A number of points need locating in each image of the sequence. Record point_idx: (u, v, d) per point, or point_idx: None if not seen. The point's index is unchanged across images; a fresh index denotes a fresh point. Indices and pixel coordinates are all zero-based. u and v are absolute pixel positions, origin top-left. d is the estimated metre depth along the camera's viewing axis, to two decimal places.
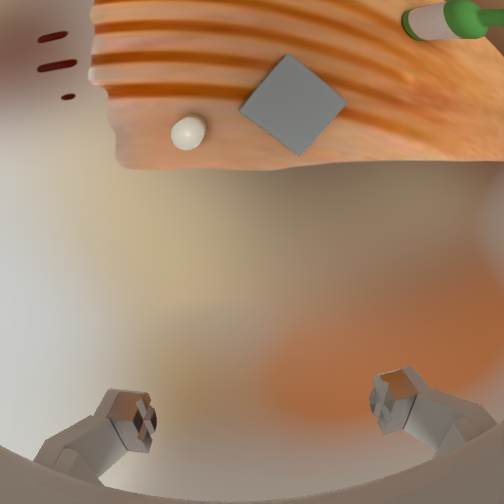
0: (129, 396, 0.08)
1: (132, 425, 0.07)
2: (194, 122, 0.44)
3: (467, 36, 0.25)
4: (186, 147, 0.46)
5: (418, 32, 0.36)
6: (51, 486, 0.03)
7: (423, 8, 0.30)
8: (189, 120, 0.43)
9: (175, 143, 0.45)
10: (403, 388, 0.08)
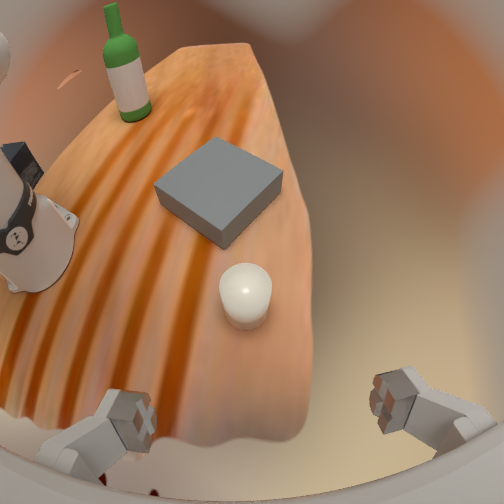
0: (129, 396, 0.08)
1: (132, 425, 0.07)
2: (226, 273, 0.31)
3: (135, 48, 0.44)
4: (268, 288, 0.30)
5: (140, 101, 0.54)
6: (51, 486, 0.03)
7: (116, 94, 0.51)
8: (222, 280, 0.30)
9: (259, 305, 0.29)
10: (403, 388, 0.08)
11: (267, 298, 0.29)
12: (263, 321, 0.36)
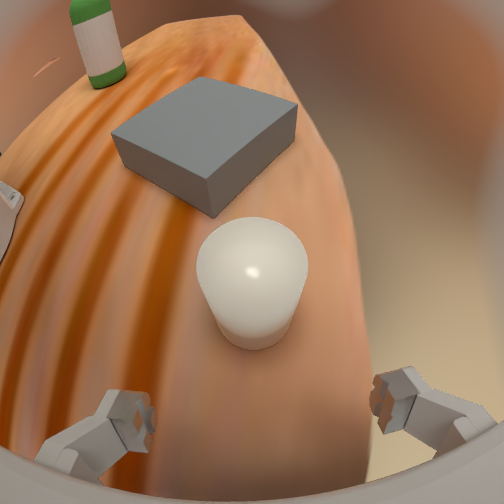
0: (129, 396, 0.08)
1: (132, 425, 0.07)
2: (211, 238, 0.15)
3: (106, 0, 0.29)
4: (299, 263, 0.14)
5: (112, 61, 0.39)
6: (51, 486, 0.03)
7: (84, 55, 0.36)
8: (202, 252, 0.14)
9: (285, 300, 0.13)
10: (403, 388, 0.08)
11: (300, 284, 0.13)
12: (285, 332, 0.20)
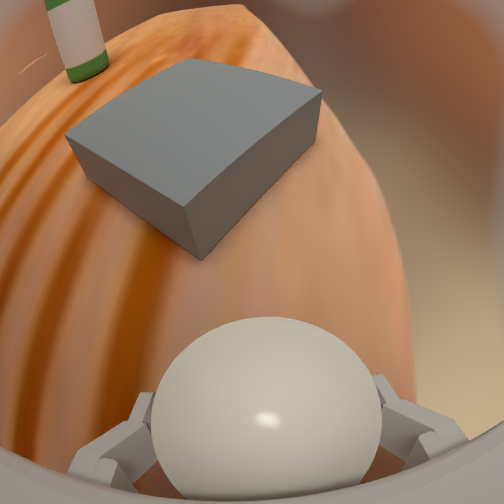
0: None
1: None
2: (179, 368, 0.06)
3: None
4: (366, 424, 0.05)
5: (91, 50, 0.31)
6: (51, 486, 0.03)
7: (59, 44, 0.27)
8: (162, 399, 0.06)
9: None
10: None
11: (365, 465, 0.05)
12: None
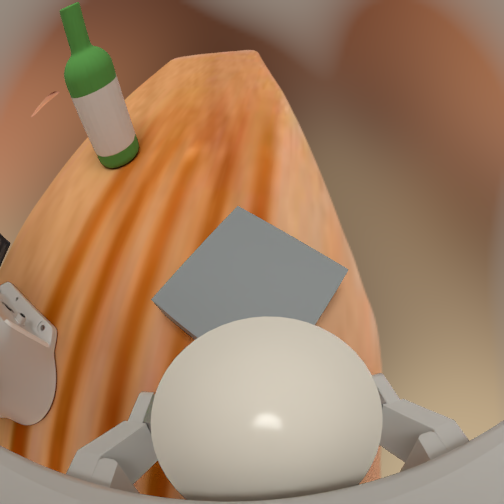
0: None
1: None
2: (179, 368, 0.06)
3: (109, 65, 0.30)
4: (367, 424, 0.05)
5: (123, 141, 0.40)
6: (51, 486, 0.03)
7: (88, 133, 0.37)
8: (161, 399, 0.06)
9: None
10: None
11: (365, 465, 0.05)
12: None
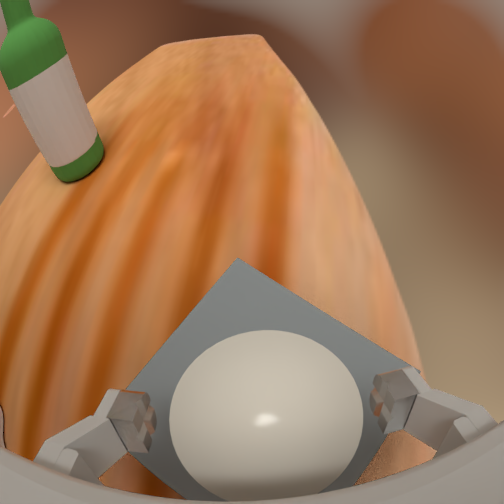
0: (129, 396, 0.08)
1: (132, 425, 0.07)
2: (193, 373, 0.08)
3: (54, 40, 0.17)
4: (349, 420, 0.07)
5: (78, 145, 0.27)
6: (51, 486, 0.03)
7: (33, 136, 0.23)
8: (178, 400, 0.07)
9: (322, 483, 0.06)
10: (403, 388, 0.08)
11: (349, 455, 0.06)
12: None
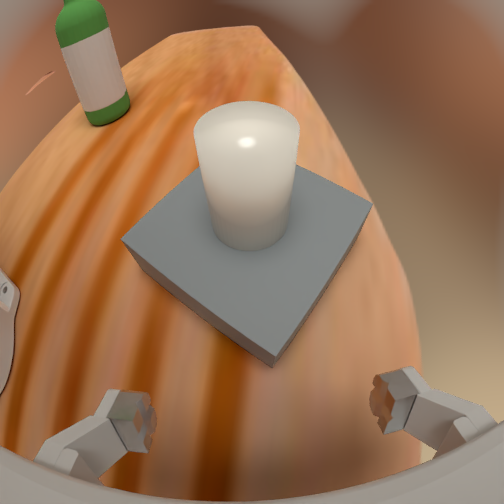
0: (129, 396, 0.08)
1: (132, 425, 0.07)
2: (210, 113, 0.15)
3: (102, 15, 0.24)
4: (292, 127, 0.14)
5: (112, 93, 0.34)
6: (51, 486, 0.03)
7: (76, 85, 0.31)
8: (200, 121, 0.14)
9: (278, 149, 0.13)
10: (403, 388, 0.08)
11: (293, 140, 0.13)
12: (282, 232, 0.19)
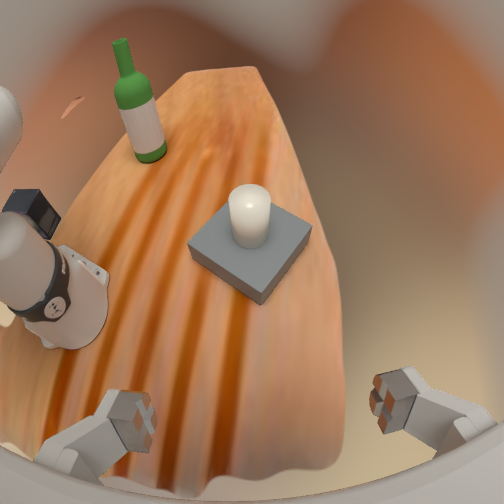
0: (129, 396, 0.08)
1: (132, 425, 0.07)
2: (234, 191, 0.38)
3: (149, 87, 0.47)
4: (267, 200, 0.37)
5: (157, 142, 0.57)
6: (51, 486, 0.03)
7: (131, 135, 0.54)
8: (231, 195, 0.38)
9: (261, 211, 0.36)
10: (403, 388, 0.08)
11: (267, 206, 0.37)
12: (265, 240, 0.43)
